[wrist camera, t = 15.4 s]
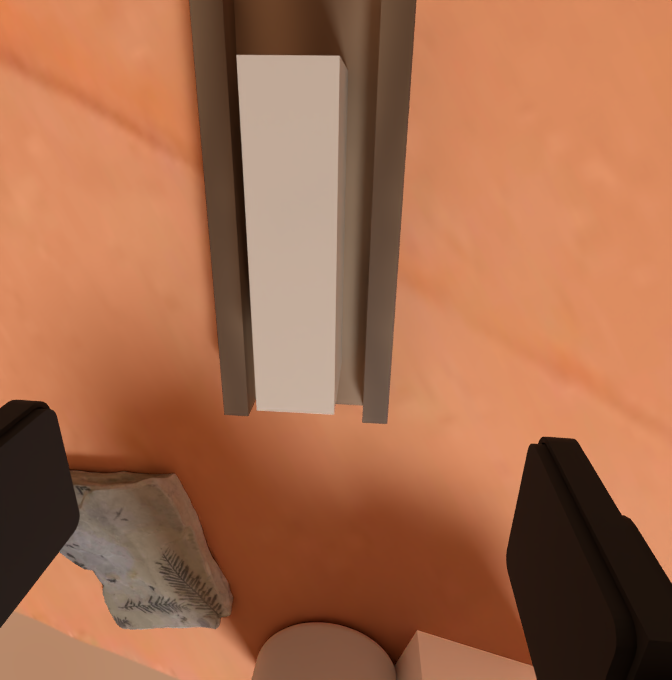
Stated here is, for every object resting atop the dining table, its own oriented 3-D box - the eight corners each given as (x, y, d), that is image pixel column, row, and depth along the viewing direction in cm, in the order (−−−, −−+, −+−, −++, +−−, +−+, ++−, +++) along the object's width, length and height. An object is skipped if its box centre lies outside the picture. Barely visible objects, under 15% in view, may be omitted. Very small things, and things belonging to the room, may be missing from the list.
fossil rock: (245, 604, 43) (238, 629, 41) (95, 623, 46) (81, 648, 44) (165, 440, 37) (152, 460, 35) (-4, 473, 39) (-27, 494, 37)
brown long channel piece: (411, 4, 24) (417, -14, 21) (386, 395, 33) (387, 423, 30) (212, 3, 25) (187, -14, 22) (238, 387, 34) (224, 414, 31)
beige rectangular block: (348, 70, 24) (339, 55, 19) (341, 362, 31) (334, 414, 25) (267, 69, 25) (236, 54, 19) (277, 359, 31) (256, 410, 26)
